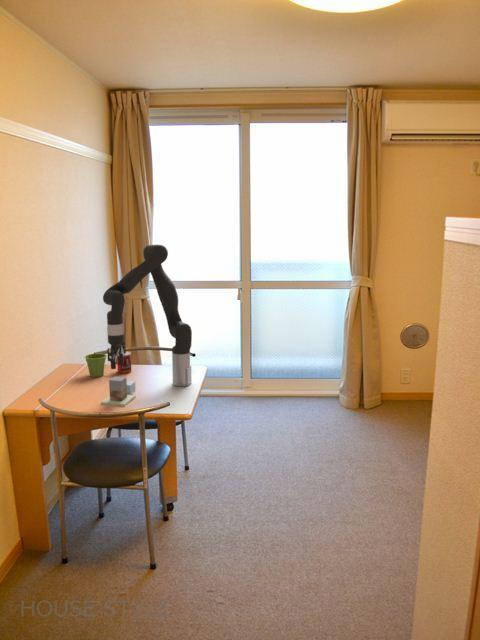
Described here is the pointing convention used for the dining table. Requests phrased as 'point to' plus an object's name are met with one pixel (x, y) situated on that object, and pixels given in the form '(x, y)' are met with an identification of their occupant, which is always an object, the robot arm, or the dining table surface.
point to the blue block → (130, 387)
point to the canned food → (124, 364)
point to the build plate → (121, 403)
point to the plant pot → (96, 364)
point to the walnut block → (118, 395)
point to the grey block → (117, 383)
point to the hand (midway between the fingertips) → (117, 366)
